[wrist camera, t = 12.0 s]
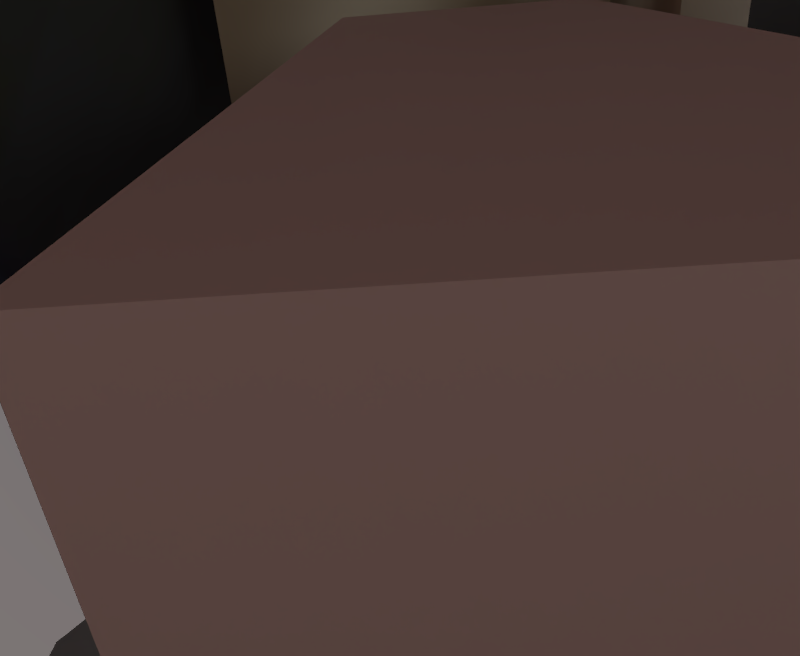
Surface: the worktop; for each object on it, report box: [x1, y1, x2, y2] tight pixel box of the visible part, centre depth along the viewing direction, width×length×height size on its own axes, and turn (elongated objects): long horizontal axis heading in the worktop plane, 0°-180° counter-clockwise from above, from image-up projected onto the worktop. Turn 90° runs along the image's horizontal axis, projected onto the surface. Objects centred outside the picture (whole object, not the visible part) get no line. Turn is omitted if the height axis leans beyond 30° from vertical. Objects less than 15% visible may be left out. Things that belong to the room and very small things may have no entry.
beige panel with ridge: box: [213, 0, 751, 104], centre depth 18 cm, size 12×15×6 cm
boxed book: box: [0, 0, 800, 656], centre depth 11 cm, size 5×12×14 cm, turn 4°
